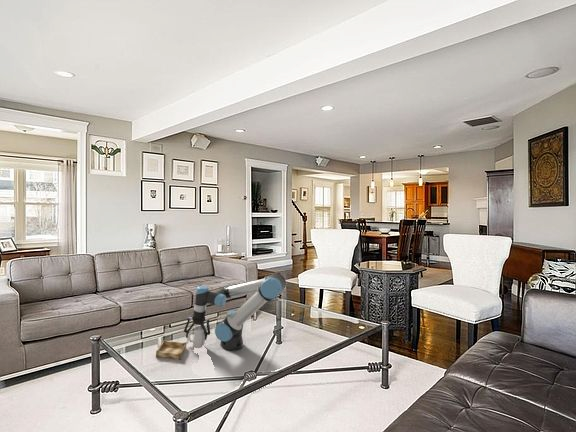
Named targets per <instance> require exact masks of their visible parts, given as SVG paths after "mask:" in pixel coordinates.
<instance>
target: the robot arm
mask: <svg viewBox="0 0 576 432" xmlns="http://www.w3.org/2000/svg"><path fill="white" fill-rule="evenodd" d="M286 285H287V279H286V278H285V276H284V275H283V274H281V273H278V272H275V273H273V274H269V275H265V276H264V278H261V279H256V280H252V281H247V282H242V283H239V284H235V285H229V286H227V285H226V286H222V288H220V289H218V290H217V291H215V292H214V291H210V290H209V287H208V286H206V285H199V286H197V287H196V290H195V298H194V299H195V300H194V307H193V315H192V316H188V317H187V322H186V325H185V327H184V330H183V332H184V333H186V334H185V338H186V342H187V344H186V345H188V344H189V343H190V341H189V338H188V335H189V333H190V331H191V330H192V328H193V327H195V325H196V326H202V329H203V330H204V337H203V346H204V345H205V344H206V343H205V341H207V338H208V336H210V335H211V328H210V318H208V319H207V318H206V310H207V304H209V305H213V306H216V307H223V306H225V304H226V303H227V299H228V300H229V299H232V298H237V297H241V296H244V295H249V294H253V295H252V296H250V298H248V300H246V301H245V302H244V303H243V304H242V305H241V306H240V307H239V308H238V309H237V310H229V311H227V313H226V317H224V318H223V320H221V321H220V322H219V323H218V324H217V325H216V326H215V327H214V334H215V336H216V338H217V339H218V340H219V341H220V342H219V344H220V347H221V348H222V349H224V350H227V351H233V352H234V351H239V350H241V349H242V348H243V346H244V341H243V340H244V339H243V330H244V323H245V322H246V321H248V320H249V319H250V318H251V317H252V316H254V314H255V313H257V311H258V310H259V309H261V308H262V307H263V306H264V305H265V304H266V303H270V302H272V301H273V300H274V299H275V298H277V297H278V296H279V295H280V294H281V293H282V291H284V289H285V288H286ZM191 321H193V322H192V324H190V323H191ZM204 322H205V323H206V326H205V323H204ZM189 324H190V325H189Z"/></svg>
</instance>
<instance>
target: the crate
mask: <svg viewBox="0 0 576 432" xmlns="http://www.w3.org/2000/svg"><path fill="white" fill-rule="evenodd" d="M187 345H188V344H187V341H185V342H180V341H171V340H166V339H163V341H162V343H161V344H160V345H159V347H158V348H157V350H156V353H155V358H160V359H169V360H178V361H181V359H182V357H183V355H184V354H185V351H186V349H187Z"/></svg>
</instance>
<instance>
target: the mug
mask: <svg viewBox="0 0 576 432" xmlns="http://www.w3.org/2000/svg"><path fill="white" fill-rule="evenodd" d="M189 332H190V333H189V335H188V338H189V343H192V347H193V348H196V349H200V348H201V349H202V348H203V346H204V345H203V337H204V330H203V329H202V326H201V325H196V326H194V328H193V330H192V329H191V330H190V331H189ZM191 334H193V339H192V338H191Z"/></svg>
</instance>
